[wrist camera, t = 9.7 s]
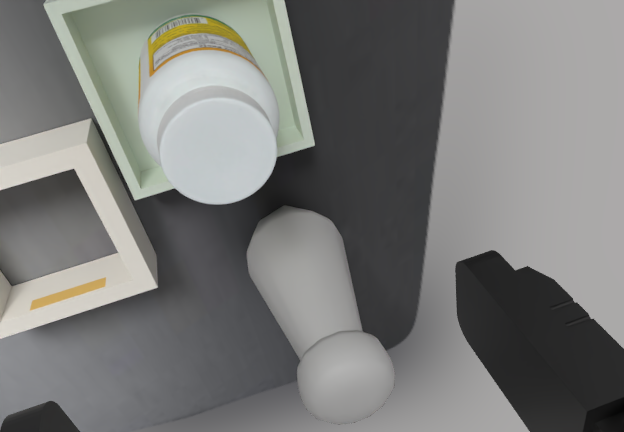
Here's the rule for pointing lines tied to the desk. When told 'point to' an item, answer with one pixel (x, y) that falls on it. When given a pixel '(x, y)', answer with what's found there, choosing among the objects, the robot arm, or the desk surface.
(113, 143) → the tray
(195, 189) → the supplement bottle
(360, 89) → the desk surface
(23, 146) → the white square frame
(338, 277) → the salt shaker
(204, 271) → the desk surface
